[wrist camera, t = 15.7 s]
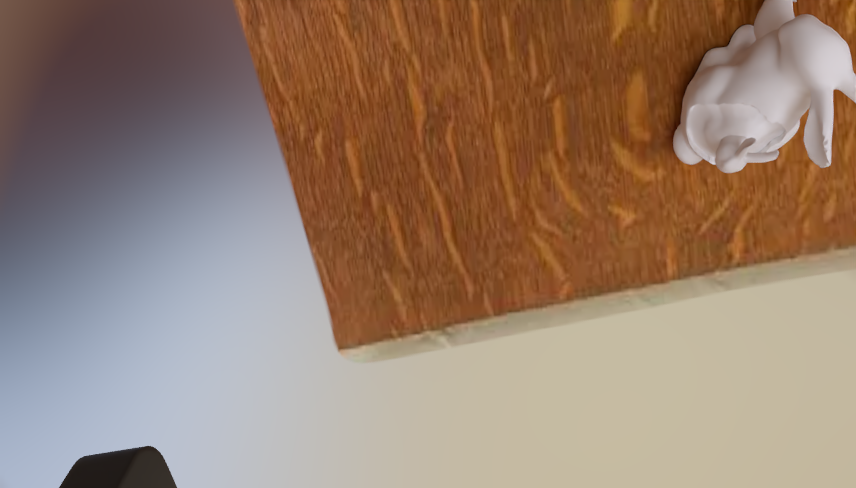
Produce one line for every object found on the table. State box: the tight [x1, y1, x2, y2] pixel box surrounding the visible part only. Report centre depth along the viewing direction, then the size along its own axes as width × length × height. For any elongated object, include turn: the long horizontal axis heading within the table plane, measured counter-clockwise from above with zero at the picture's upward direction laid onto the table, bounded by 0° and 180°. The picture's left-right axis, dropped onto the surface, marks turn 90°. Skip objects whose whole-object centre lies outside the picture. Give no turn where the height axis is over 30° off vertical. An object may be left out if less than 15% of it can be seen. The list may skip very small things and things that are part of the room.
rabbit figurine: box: [673, 0, 856, 173], centre depth 43 cm, size 12×8×10 cm, turn 144°
